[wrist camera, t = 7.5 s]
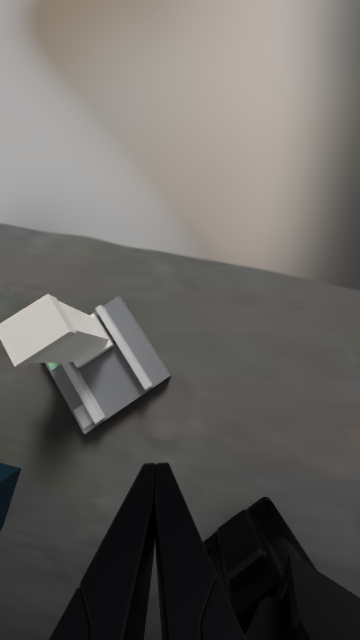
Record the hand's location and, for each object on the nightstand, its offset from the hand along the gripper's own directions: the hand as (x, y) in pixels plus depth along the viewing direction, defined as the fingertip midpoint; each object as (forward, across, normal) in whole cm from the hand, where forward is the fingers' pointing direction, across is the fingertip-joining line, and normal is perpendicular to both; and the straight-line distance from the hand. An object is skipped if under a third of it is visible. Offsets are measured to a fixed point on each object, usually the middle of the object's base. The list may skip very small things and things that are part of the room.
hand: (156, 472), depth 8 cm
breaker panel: (+13, +5, +2) cm, 14 cm away
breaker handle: (+12, +6, 0) cm, 14 cm away
